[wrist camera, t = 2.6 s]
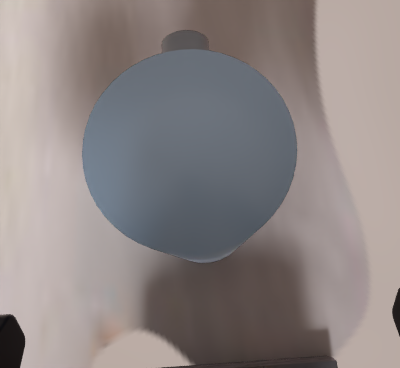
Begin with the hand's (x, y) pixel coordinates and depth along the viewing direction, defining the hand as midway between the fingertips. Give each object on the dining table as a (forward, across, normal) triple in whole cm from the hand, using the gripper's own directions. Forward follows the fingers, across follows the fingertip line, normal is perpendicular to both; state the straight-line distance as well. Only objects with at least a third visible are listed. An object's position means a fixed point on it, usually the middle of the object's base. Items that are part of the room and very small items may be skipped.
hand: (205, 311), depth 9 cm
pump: (+10, 0, +5) cm, 11 cm away
